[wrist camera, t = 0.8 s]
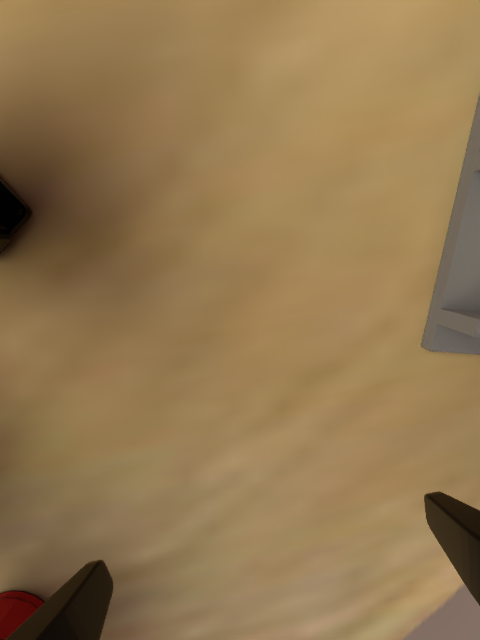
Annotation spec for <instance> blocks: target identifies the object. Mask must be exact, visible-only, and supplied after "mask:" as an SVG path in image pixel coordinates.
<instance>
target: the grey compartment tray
mask: <svg viewBox="0 0 480 640" xmlns="http://www.w3.org/2000/svg"><path fill="white" fill-rule="evenodd" d="M421 347H423V348H425V349H427V350H429V351H437V352H451V353H465V354H479V355H480V94H479V98H478V103H477V107H476V111H475V116H474V120H473V124H472V128H471V133H470V137H469V141H468V146H467V150H466V154H465V159H464V163H463V167H462V172H461V176H460V180H459V185H458V189H457V193H456V197H455V202H454V206H453V210H452V215H451V219H450V223H449V228H448V232H447V236H446V241H445V245H444V249H443V254H442V258H441V262H440V266H439V271H438V275H437V279H436V284H435V288H434V292H433V297H432V301H431V305H430V310H429V314H428V318H427V323H426V327H425V331H424V335H423V340H422V344H421Z"/></svg>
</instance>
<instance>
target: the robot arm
mask: <svg viewBox="0 0 480 640" xmlns="http://www.w3.org/2000/svg"><path fill="white" fill-rule="evenodd" d="M19 208H21V209H22V213H21V214H20V213H19ZM30 215H31V211H30V208H29V207H28V205H27V204H26V203H25V202H24V201H23V200H22V199H21V198H20V197H19V196H18V195H17V194H16V193H15V192H14V191H13V190H12V189H11V188H10V187H9V186H8V185H7V184H6V183H5V182H4V181H3V180H2V179H1V177H0V252H1V251H2V250H3V249H4V248H5V247H6V245H7V244H8V243H9V242H10V241H11V239H12V235H13V234H14V233H15V232H16V231H17V230H18V229H19V228H20V227H21V226H22V225H23V224H24V223H25V222H26V220H27V219H28V218H29V217H30ZM424 501H425V512H426V519H427V522H428V525H429V527H430V529H431V531H432V532H433V534H434V536H435V537H436V539H437V540H438V542H439V544H440V545H441V547H442V548H443V550H444V552H445V553H446V555H447V556H448V558H449V560H450V561H451V563H452V564H453V566H454V567H455V569H456V571H457V572H458V574H459V575H460V577H461V579H462V580H463V582H464V583H465V585H466V586H467V588H468V590H469V591H470V593H471V594H472V595H473V597H474V598H475V600H476V601H477V602H478V603H479V605H480V511H479V510H477V509H475V508H473V507H471V506H469V505H467V504H465V503H463V502H461V501H459V500H457V499H455V498H453V497H451V496H449V495H446V494H444V493H442V492H433V493H428V494H425V496H424ZM112 592H113V580H112V577H111V575H110V573H109V571H108V569H107V566H106V564H105V562H104V561H103V560H97V561H92V562H89V563H87V564H86V565H85V566H84V567H83V568H81V569H80V570H79V571H78V572H77V573H76V574H75V575H74V576H73V577H72V578H71V579H70V580H69V581H68V582H67V583H65V584H64V585H63V586H62V587H61V588H60V589H59V590H58V591H57V592H56V593H55V594H54V595H53V596H52V597H50V598H49V599H48V600H47V601H46V602H45V603H44V604H43V605H42V606H41V607H40V608H39V609H38V610H37V611H35V612H34V613H33V614H32V615H31V616H30V617H29V618H28V619H27V620H26V621H25V622H24V623H23V624H22V625H20V626H19V627H18V628H17V629H16V630H15V631H14V632H13V633H12V634H11V635H10V636H9V637H8V638H7V639H6V640H100V636H101V633H102V629H103V625H104V622H105V618H106V615H107V611H108V607H109V604H110V600H111V597H112Z"/></svg>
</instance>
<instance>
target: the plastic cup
mask: <svg viewBox="0 0 480 640" xmlns="http://www.w3.org/2000/svg"><path fill="white" fill-rule="evenodd" d="M43 604H44V602H42V601H41V600H40V599H38V598H37V597H35V596H34V595H31V594H28V593H25V592H19V591H8V592H5V593H1V594H0V640H6V639H7V638H8V637H9V636H10V635H11V634H12V633H13V632H14V631H15V630H16V629H17V628H18V627H19V626H20V625H22V624H23V623H24V622H25V621H26V620H27V619H28V618H29V617H30V616H31V615H32V614H33V613H34V612H35V611H37V610H38V609H39V608H40V607H41V606H42V605H43Z"/></svg>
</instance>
